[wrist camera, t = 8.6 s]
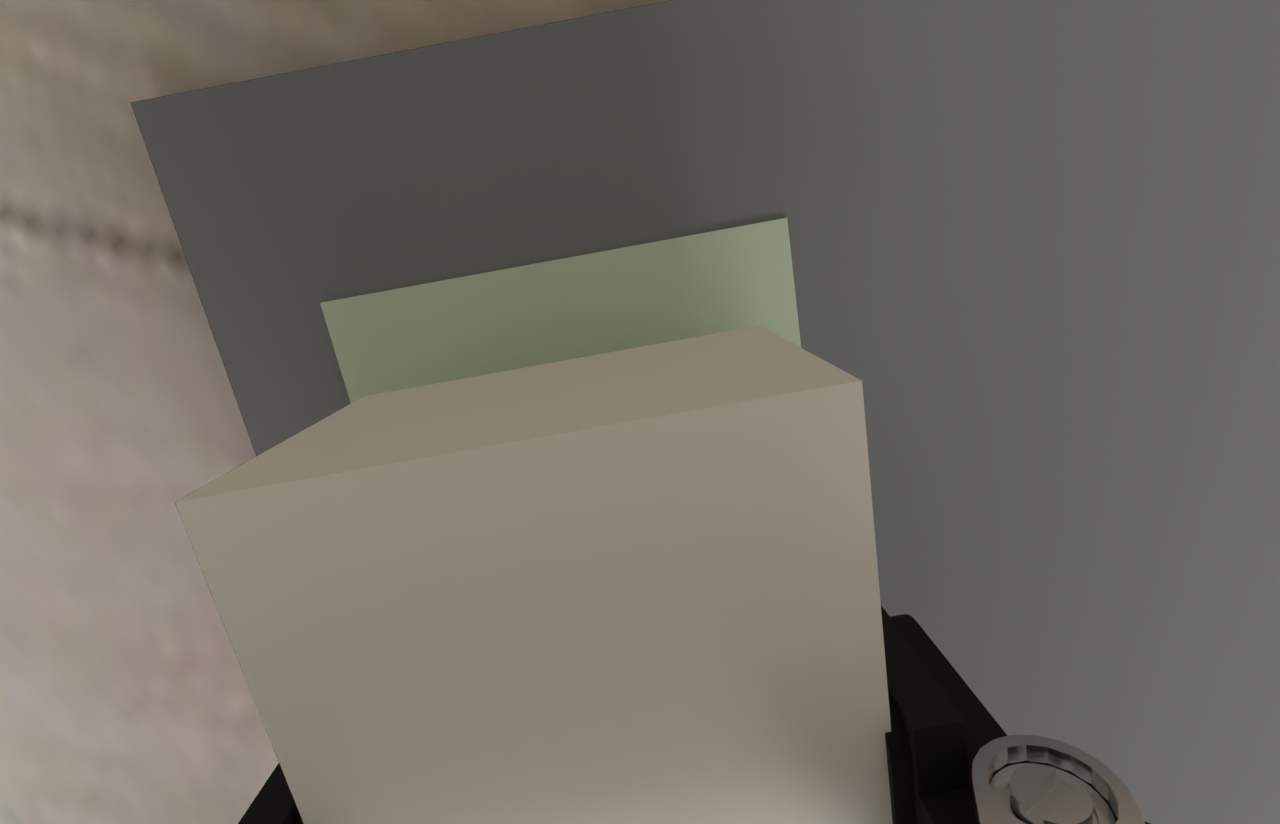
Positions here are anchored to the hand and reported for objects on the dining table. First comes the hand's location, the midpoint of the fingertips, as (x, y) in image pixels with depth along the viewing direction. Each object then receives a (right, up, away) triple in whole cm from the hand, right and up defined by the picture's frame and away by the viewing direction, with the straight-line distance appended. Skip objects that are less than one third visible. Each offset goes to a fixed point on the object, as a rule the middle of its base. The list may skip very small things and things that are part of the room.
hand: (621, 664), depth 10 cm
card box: (0, 0, 0) cm, 0 cm away
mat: (+7, +2, +2) cm, 7 cm away
